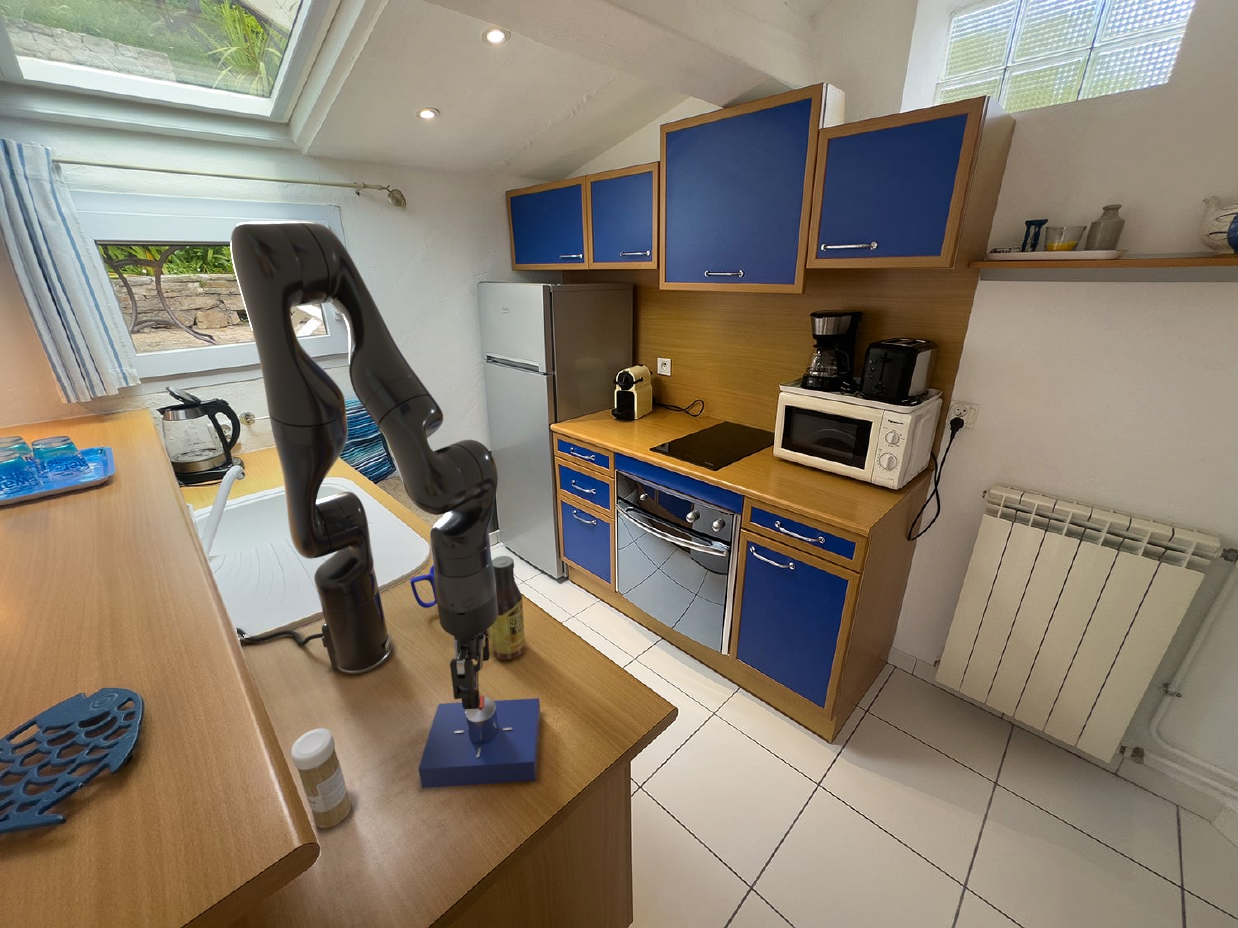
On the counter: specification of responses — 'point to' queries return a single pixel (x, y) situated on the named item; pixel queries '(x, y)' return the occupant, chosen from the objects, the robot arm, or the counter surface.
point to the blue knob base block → (482, 747)
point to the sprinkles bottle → (321, 777)
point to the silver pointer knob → (482, 721)
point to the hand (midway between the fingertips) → (477, 681)
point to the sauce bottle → (507, 612)
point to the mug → (431, 579)
